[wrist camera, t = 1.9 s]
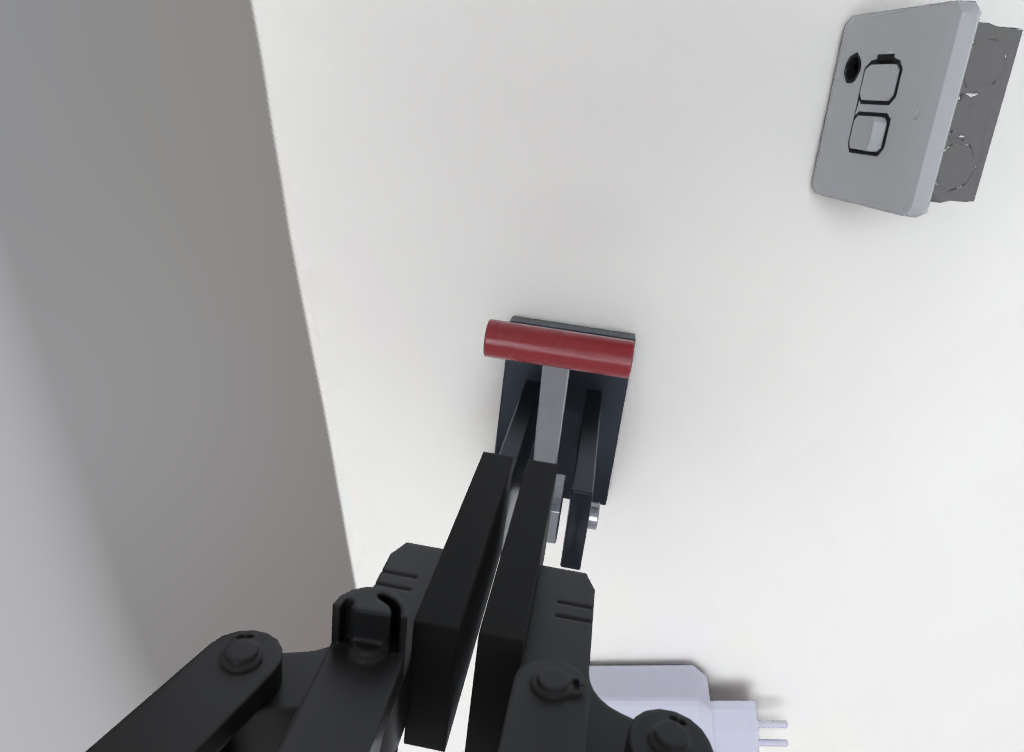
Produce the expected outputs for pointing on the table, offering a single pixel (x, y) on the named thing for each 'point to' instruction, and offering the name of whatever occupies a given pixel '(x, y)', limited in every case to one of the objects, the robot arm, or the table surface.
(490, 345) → the lever
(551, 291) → the table surface
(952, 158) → the electrical switch
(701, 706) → the charger
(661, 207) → the table surface
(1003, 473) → the table surface
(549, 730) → the robot arm
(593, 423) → the bracket
